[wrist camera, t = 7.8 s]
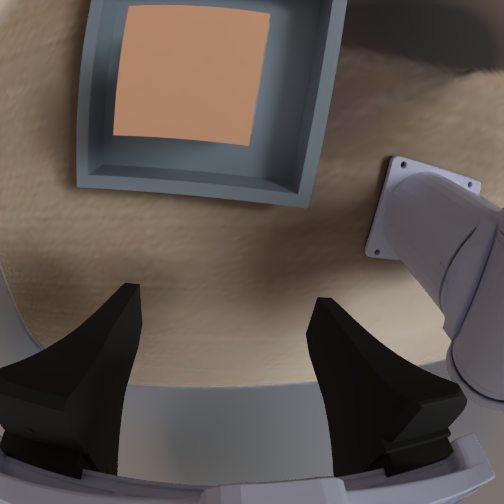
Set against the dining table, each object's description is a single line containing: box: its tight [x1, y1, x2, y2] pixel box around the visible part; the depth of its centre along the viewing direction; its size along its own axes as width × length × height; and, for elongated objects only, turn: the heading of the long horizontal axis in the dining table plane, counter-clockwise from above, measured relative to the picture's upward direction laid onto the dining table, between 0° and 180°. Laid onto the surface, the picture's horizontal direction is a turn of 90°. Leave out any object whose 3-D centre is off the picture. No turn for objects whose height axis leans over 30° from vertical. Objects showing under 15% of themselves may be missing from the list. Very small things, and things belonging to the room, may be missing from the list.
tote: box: [76, 0, 347, 209], centre depth 16 cm, size 14×14×3 cm
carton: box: [113, 5, 270, 146], centre depth 12 cm, size 5×5×5 cm
